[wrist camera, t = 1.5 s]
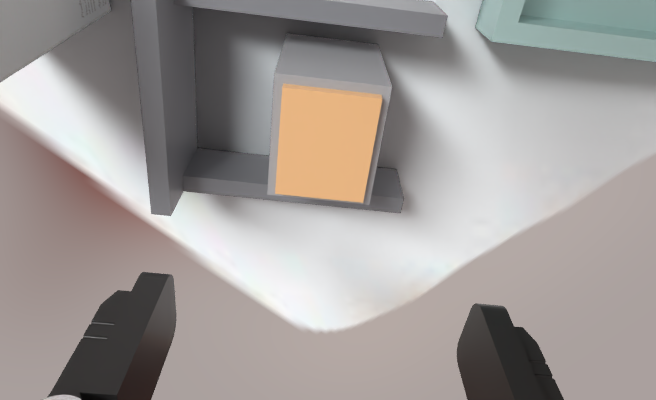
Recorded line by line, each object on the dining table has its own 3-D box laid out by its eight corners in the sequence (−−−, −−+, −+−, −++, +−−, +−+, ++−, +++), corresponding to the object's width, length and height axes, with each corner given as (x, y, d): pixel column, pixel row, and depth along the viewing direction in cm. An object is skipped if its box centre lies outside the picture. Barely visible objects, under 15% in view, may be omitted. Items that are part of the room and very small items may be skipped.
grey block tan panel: (287, 33, 26) (273, 76, 19) (378, 44, 26) (393, 90, 20) (280, 134, 29) (266, 200, 23) (361, 143, 29) (370, 210, 23)
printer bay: (171, -32, 24) (129, -14, 19) (433, 2, 25) (460, 27, 20) (181, 160, 30) (151, 214, 25) (393, 182, 31) (406, 239, 26)
